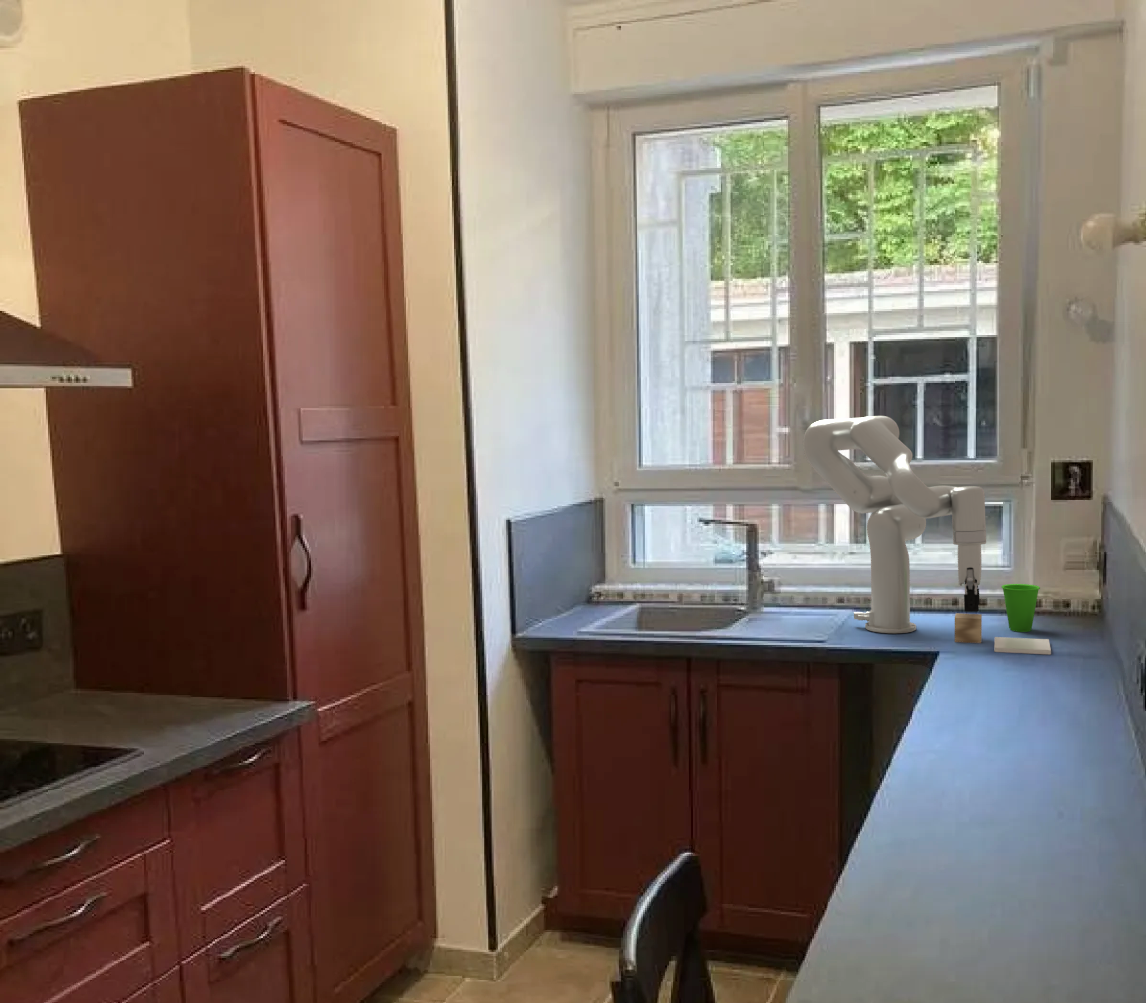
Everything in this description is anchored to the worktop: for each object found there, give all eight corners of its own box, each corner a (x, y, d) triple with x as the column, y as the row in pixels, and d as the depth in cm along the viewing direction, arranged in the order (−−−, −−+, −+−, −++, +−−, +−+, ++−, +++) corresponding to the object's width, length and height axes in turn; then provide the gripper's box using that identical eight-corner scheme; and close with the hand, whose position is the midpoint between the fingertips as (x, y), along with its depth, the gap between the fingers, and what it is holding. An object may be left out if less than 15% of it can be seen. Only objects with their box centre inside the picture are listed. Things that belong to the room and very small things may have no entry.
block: (954, 642, 267) (954, 617, 267) (955, 637, 273) (955, 613, 272) (981, 643, 265) (981, 618, 264) (981, 638, 271) (981, 614, 270)
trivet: (994, 651, 256) (994, 647, 255) (994, 641, 267) (994, 637, 267) (1050, 654, 251) (1050, 650, 251) (1048, 643, 262) (1048, 639, 262)
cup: (1045, 633, 274) (1046, 589, 273) (1008, 634, 274) (1009, 590, 273) (1031, 626, 283) (1031, 583, 282) (995, 626, 283) (995, 584, 282)
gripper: (954, 534, 276) (957, 602, 277) (951, 541, 260) (954, 614, 261) (986, 533, 273) (989, 602, 274) (985, 541, 257) (988, 614, 258)
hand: (972, 608), depth 267 cm, fingers open, 9 cm apart
